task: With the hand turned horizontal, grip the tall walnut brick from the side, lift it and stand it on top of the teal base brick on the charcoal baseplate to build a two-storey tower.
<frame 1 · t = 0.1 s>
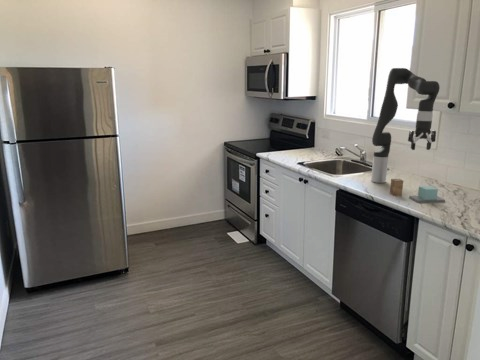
hand: (420, 149, 211), 29 cm above the worktop, tool pointing down, fingers open, 8 cm apart
walnut brick: (395, 194, 230), on the worktop
tower base: (426, 199, 219), on the worktop
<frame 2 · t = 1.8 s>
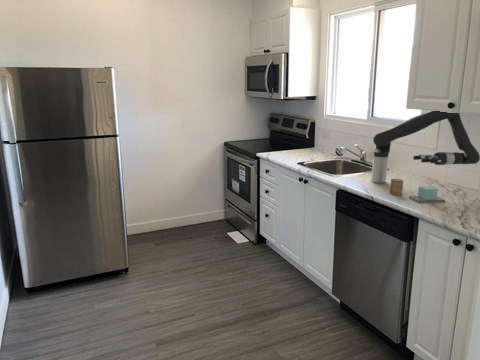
hand: (417, 159, 226), 21 cm above the worktop, tool horizontal, fingers open, 8 cm apart
nothing on the worktop moved.
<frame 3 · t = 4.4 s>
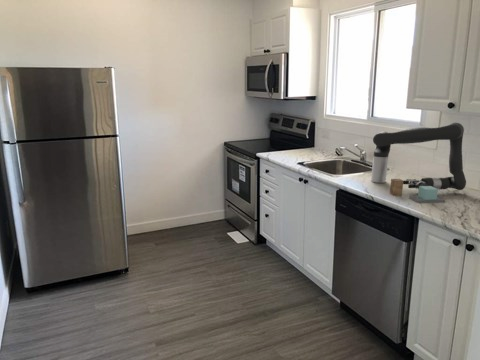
hand: (404, 184, 229), 6 cm above the worktop, tool horizontal, fingers open, 8 cm apart
nothing on the worktop moved.
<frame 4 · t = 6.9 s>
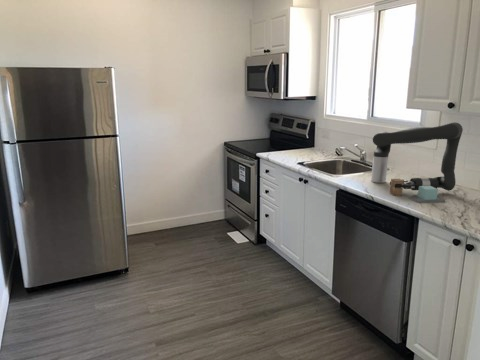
hand: (392, 184, 229), 6 cm above the worktop, tool horizontal, fingers closed on walnut brick, 5 cm apart
walnut brick: (395, 194, 230), on the worktop, touching gripper
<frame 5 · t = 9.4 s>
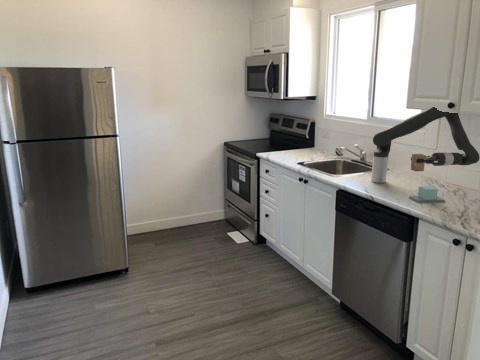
hand: (413, 159, 218), 22 cm above the worktop, tool horizontal, fingers closed on walnut brick, 5 cm apart
walnut brick: (417, 170, 220), point 16 cm above the worktop, touching gripper
when the fingers open (15 cm above the worktop, at t = 12.1 s): walnut brick drops 1 cm, resting on tower base.
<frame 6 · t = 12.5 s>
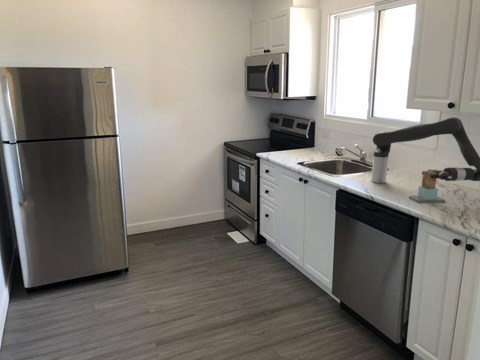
hand: (426, 174, 216), 15 cm above the worktop, tool horizontal, fingers open, 8 cm apart
walnut brick: (428, 187, 218), point 7 cm above the worktop, touching tower base
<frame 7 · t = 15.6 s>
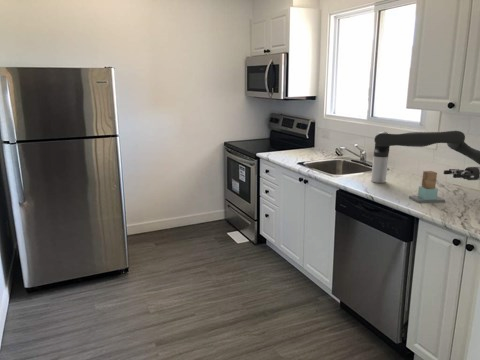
hand: (448, 174, 217), 15 cm above the worktop, tool horizontal, fingers open, 8 cm apart
nothing on the worktop moved.
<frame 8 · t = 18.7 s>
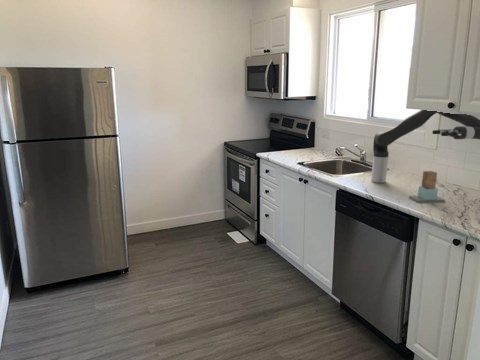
hand: (437, 133, 225), 36 cm above the worktop, tool horizontal, fingers open, 8 cm apart
nothing on the worktop moved.
at the end: walnut brick 0.1 cm off-centre on the tower base, point 7.2 cm above the tower base's base; walnut brick tilted 0°; the gripper is holding nothing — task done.
